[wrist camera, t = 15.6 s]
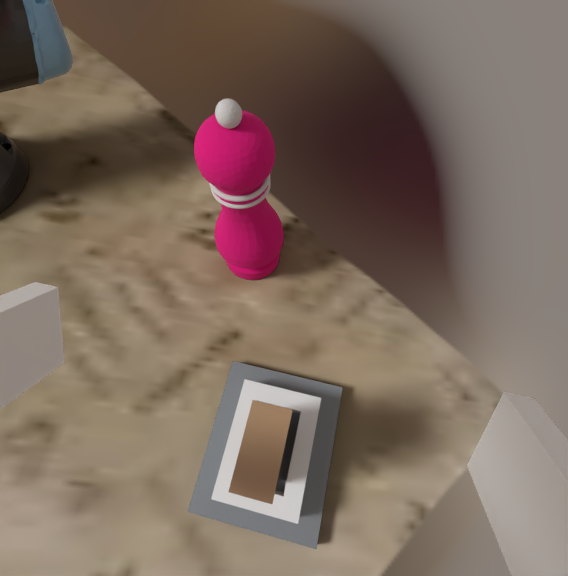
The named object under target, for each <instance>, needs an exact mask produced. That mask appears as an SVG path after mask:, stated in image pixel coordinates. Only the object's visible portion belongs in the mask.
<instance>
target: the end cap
mask: <svg viewBox="0 0 568 576" xmlns="http://www.w3.org/2000/svg"><path fill="white" fill-rule="evenodd" d="M342 389H343V387H338V386H334V385H330V384H326V383H322V382H318V381H314V380H310V379H305V378H301V377H297V376H293V375H289V374H285V373H281V372H276V371H272V370H268V369H264V368H260V367H256V366H252V365H247V364H243V363H239V362H235V361H233V362H232V365H231V369H230V372H229V375H228V379H227V382H226V385H225V389H224V392H223V395H222V399H221V402H220V405H219V409H218V412H217V415H216V419H215V422H214V425H213V429H212V432H211V435H210V439H209V442H208V445H207V449H206V452H205V455H204V459H203V462H202V465H201V469H200V472H199V475H198V479H197V482H196V485H195V489H194V492H193V495H192V499H191V502H190V505H189V509H188V512H190V513H194V514H197V515H200V516H204V517H207V518H211V519H214V520H218V521H221V522H225V523H228V524H231V525H235V526H238V527H242V528H245V529H249V530H252V531H256V532H259V533H263V534H266V535H269V536H273V537H276V538H280V539H283V540H287V541H290V542H294V543H297V544H300V545H304V546H307V547H311V548H314V549H317V542H318V536H319V530H320V524H321V518H322V512H323V506H324V499H325V493H326V487H327V481H328V475H329V469H330V463H331V456H332V450H333V444H334V438H335V432H336V426H337V420H338V413H339V407H340V401H341V395H342ZM252 400H255V401H259V402H263V403H267V404H271V405H275V406H279V407H283V408H287V409H291V410H293V411H292V415H291V420H290V425H289V429H288V434H287V438H286V443H285V448H284V452H283V457H282V462H281V466H280V471H279V476H278V480H277V485H276V490H275V494H274V499H273V504H269V503H265V502H262V501H258V500H254V499H251V498H247V497H244V496H240V495H237V494H233V493H230V492H228V491H229V488H230V484H231V480H232V476H233V473H234V469H235V465H236V461H237V457H238V454H239V450H240V446H241V442H242V438H243V435H244V431H245V427H246V423H247V419H248V416H249V412H250V408H251V404H252Z"/></svg>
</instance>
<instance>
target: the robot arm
mask: <svg viewBox="0 0 568 576" xmlns="http://www.w3.org/2000/svg"><path fill="white" fill-rule="evenodd" d="M72 63H73V57H72V53H71V50H70V47H69V44H68V41H67V38H66V35H65V33H64V30H63V27H62V25H61V22H60V20H59V17H58V14H57V12H56V9H55V7H54V4H53V2H52V0H0V92H4V91H9V90H13V89H18V88H22V87H26V86H31V85H35V84H42V83H44V81H46V80H49V79H52V78H55V77H58V76H61V75H64V74H66V73H67V72H69V70H70V69H71V67H72ZM28 172H29V166H28V161H27V158H26V156H25V155H24V153H23V152H22V151H21V150H20V149H19V148H18V146H17V145H16V144H15V143H14V142H13V141H12V140H11V139H10V138H9V137H8V136H6V135H5V134H4V133H2V132H0V212H1V211H3V210H4V209H5V208H6V207H8V206H9V205H10V204H11V203H12V202H13V201H14V200H15V199H16V197H17V196H18V195H19V194H20V192H21V191H22V189H23V187H24V185H25V183H26V181H27V177H28ZM64 363H65V361H64V350H63V338H62V327H61V316H60V304H59V293H58V287H55V286H50V285H46V284H42V283H37V282H34V283H31V284H29V285H26V286H24V287H21V288H19V289H16V290H13V291H11V292H8V293H6V294H3V295H1V296H0V409H1V408H3V407H4V406H6V405H7V404H8V403H10V402H11V401H13V400H14V399H15V398H17V397H18V396H19V395H21V394H22V393H24V392H25V391H26V390H28V389H29V388H31V387H32V386H33V385H35V384H36V383H38V382H39V381H40V380H42V379H43V378H44V377H46V376H47V375H49V374H50V373H51V372H53V371H54V370H56V369H57V368H58V367H60V366H61V365H63V364H64ZM467 467H468V469H469V472H470V474H471V477H472V479H473V482H474V484H475V487H476V489H477V492H478V494H479V497H480V499H481V502H482V504H483V507H484V509H485V511H486V514H487V516H488V519H489V521H490V524H491V526H492V529H493V531H494V533H495V536H496V539H497V541H498V544H499V546H500V549H501V551H502V554H503V556H504V558H505V561H506V564H507V566H508V568H509V571H510V573H511V576H568V440H567V439H566V437H565V436H564V435H563V434H562V433H561V431H560V430H559V429H558V427H557V426H556V425H555V424H554V422H553V421H552V420H551V419H550V417H549V416H548V415H547V414H546V413H545V411H544V410H543V409H542V408H541V406H540V405H539V404H538V403H537V401H536V400H535V399H534V398H531V397H527V396H523V395H518V394H514V393H510V392H506V391H504V393H503V395H502V397H501V399H500V401H499V403H498V405H497V407H496V409H495V411H494V413H493V415H492V417H491V419H490V421H489V423H488V425H487V427H486V429H485V431H484V433H483V435H482V437H481V439H480V441H479V443H478V445H477V447H476V449H475V451H474V453H473V455H472V457H471V459H470V461H469V463H468V465H467Z"/></svg>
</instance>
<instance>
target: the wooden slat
mask: <svg viewBox="0 0 568 576" xmlns="http://www.w3.org/2000/svg"><path fill="white" fill-rule="evenodd" d="M292 411H293V410H291V409H287V408H283V407H279V406H275V405H271V404H267V403H263V402H259V401H255V400H252V404H251V408H250V412H249V416H248V419H247V423H246V427H245V431H244V435H243V438H242V442H241V446H240V450H239V454H238V457H237V461H236V465H235V469H234V473H233V476H232V480H231V484H230V488H229V491H228V492H230V493H233V494H237V495H240V496H244V497H247V498H251V499H254V500H258V501H262V502H265V503H269V504H273V499H274V494H275V490H276V485H277V480H278V476H279V471H280V466H281V462H282V457H283V452H284V448H285V443H286V438H287V434H288V429H289V425H290V420H291V415H292Z"/></svg>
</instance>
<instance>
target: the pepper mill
mask: <svg viewBox="0 0 568 576" xmlns="http://www.w3.org/2000/svg"><path fill="white" fill-rule="evenodd" d="M194 155H195V160H196V163H197V166H198V168H199V170H200V172H201V174H202V176H203V177H204V178H205V179H206V180H207V181H208V182H209V184H210V187H211V191H212V194H213V196H214V197H215V199H216V200H217V201H218V202H219V203H221V205H222V210H221V213H220V215H219V217H218V219H217V222H216V227H215V241H216V246H217V249H218V251H219V253H220V254H221V256H222V257H223V258H224V259H225V260H226V262H227V265H228V267H229V268H230V270H231V271H232V272H233V273H234V274H235V275H237V276H238V277H240V278H243V279H248V280H257V279H261V278H264V277H266V276H268V275H269V274H271V273H272V272H273V271H274V270H275V268H276V267H277V265H278V262H279V258H280V250H281V248H282V245H283V241H284V233H283V227H282V223H281V221H280V219H279V217H278V215H277V213H276V212H275V210H274V209H273V208H272V207H271V206H270V204H269V203H268V202H267V200H266V198H265V197H266V196H267V194H268V192H269V190H270V172H271V170H272V168H273V165H274V162H275V146H274V140H273V137H272V134H271V133H270V131H269V129H268V127H267V126H266V124H265V123H263V121H262V120H261V119H260V118H258V117H257V116H256V115H254V114H252V113H250V112H247V111H243V110H241V107H240V106H239V104H238V103H237V102H236V101H234V100H232V99H223V100H221V101H220V102H219V103H218V105H217V106H216V109H215V114H213V115H212V116H210V117H209V118H208V119H206V120H205V121H204V122H203V124H202V125H201V126H200V128H199V130H198V132H197V135H196V137H195V143H194Z"/></svg>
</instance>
